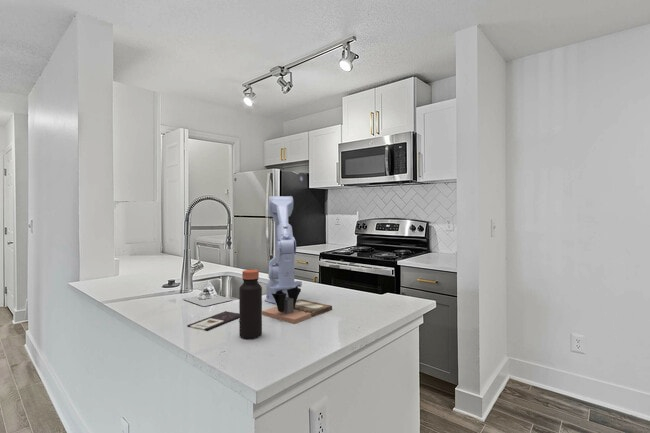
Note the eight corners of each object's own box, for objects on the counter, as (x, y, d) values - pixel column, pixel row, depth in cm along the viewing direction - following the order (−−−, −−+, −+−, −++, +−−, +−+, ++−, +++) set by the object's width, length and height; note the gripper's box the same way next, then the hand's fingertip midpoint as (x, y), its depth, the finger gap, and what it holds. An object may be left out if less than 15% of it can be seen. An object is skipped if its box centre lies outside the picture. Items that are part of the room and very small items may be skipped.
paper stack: (180, 313, 135) (180, 311, 135) (151, 301, 152) (151, 299, 152) (233, 301, 153) (233, 299, 153) (202, 291, 169) (202, 290, 169)
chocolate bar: (244, 314, 131) (207, 329, 115) (244, 316, 131) (207, 332, 115) (225, 311, 136) (187, 325, 119) (225, 313, 136) (187, 328, 120)
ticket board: (280, 309, 140) (280, 304, 140) (301, 302, 150) (301, 298, 149) (312, 317, 130) (312, 312, 130) (332, 309, 140) (332, 305, 140)
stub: (262, 314, 133) (262, 297, 132) (279, 309, 140) (279, 292, 139) (294, 323, 123) (294, 304, 123) (311, 317, 130) (311, 299, 130)
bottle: (235, 335, 112) (235, 270, 111) (253, 330, 116) (253, 268, 116) (247, 341, 107) (247, 273, 106) (266, 335, 112) (266, 271, 111)
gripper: (280, 276, 123) (280, 316, 123) (307, 270, 134) (307, 307, 134) (265, 274, 127) (265, 312, 127) (293, 268, 138) (293, 303, 139)
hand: (286, 309), depth 131 cm, fingers open, 5 cm apart
